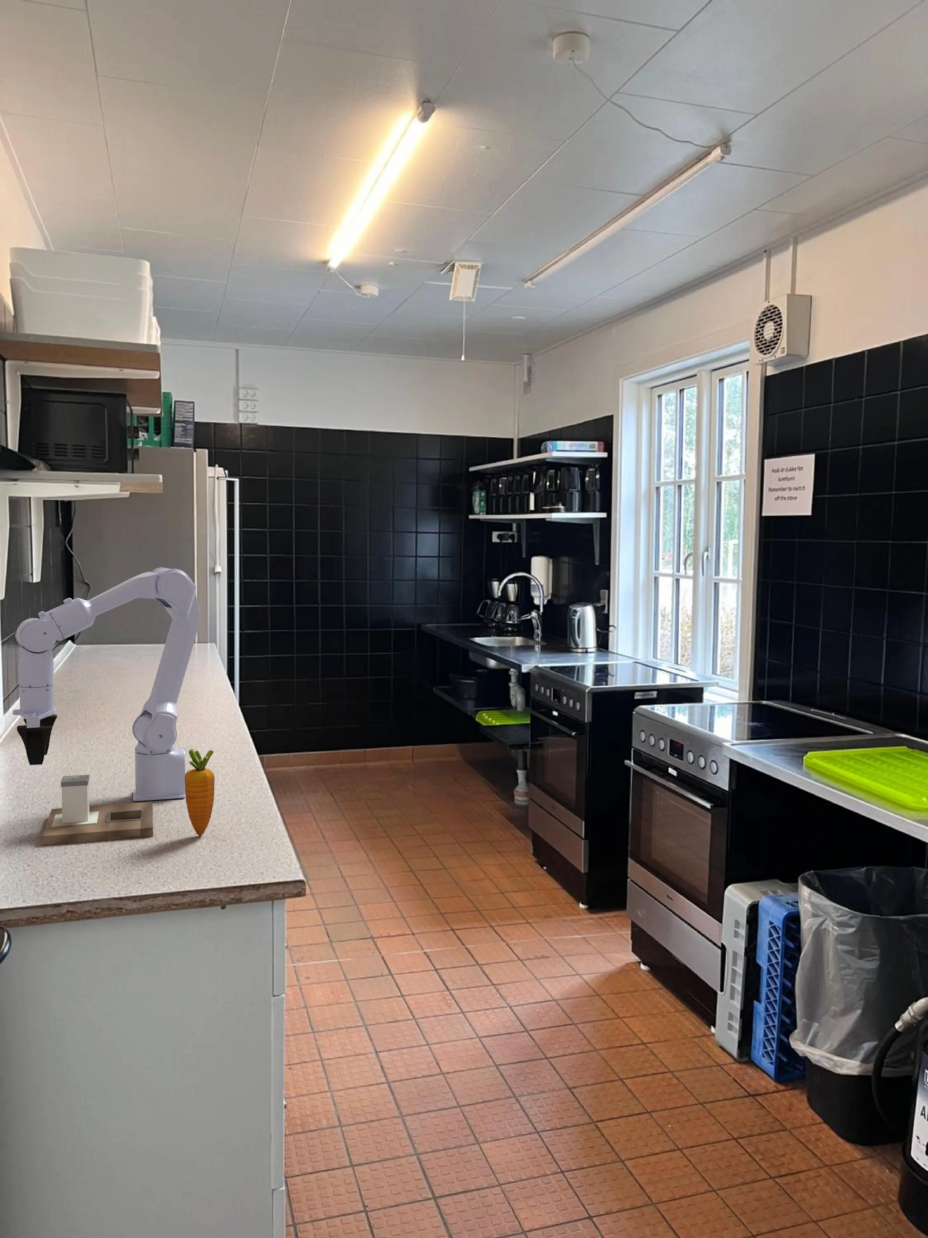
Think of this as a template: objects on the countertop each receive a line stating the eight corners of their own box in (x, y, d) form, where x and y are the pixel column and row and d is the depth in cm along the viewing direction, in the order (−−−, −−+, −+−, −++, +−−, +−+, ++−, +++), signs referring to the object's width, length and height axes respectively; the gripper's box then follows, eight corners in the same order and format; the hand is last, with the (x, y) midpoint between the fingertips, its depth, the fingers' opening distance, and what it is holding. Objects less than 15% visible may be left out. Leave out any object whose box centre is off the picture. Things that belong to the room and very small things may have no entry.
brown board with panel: (152, 809, 172) (152, 800, 172) (153, 836, 157) (152, 826, 157) (52, 817, 167) (51, 807, 167) (42, 845, 152) (42, 835, 151)
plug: (90, 814, 163) (89, 774, 163) (88, 821, 159) (87, 780, 159) (64, 816, 162) (63, 776, 161) (61, 823, 158) (60, 782, 157)
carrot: (218, 831, 160) (217, 745, 159) (211, 840, 155) (210, 751, 154) (189, 831, 160) (188, 744, 159) (181, 840, 155) (180, 751, 154)
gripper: (17, 680, 174) (19, 752, 175) (6, 692, 161) (8, 770, 162) (58, 679, 177) (60, 750, 178) (51, 691, 163) (53, 767, 164)
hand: (38, 759), depth 170 cm, fingers open, 7 cm apart
